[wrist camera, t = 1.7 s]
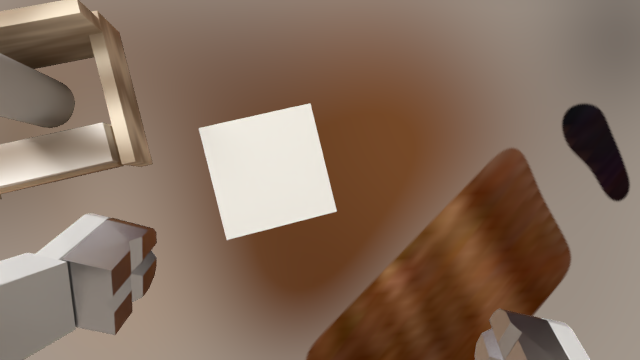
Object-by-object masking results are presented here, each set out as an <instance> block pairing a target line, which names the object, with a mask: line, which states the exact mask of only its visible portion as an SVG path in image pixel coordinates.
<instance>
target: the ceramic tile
mask: <svg viewBox="0 0 640 360" xmlns="http://www.w3.org/2000/svg"><path fill="white" fill-rule="evenodd" d="M199 132H200V135H201V139H202V143H203V147H204V151H205V155H206V159H207V163H208V167H209V171H210V175H211V179H212V183H213V187H214V191H215V195H216V199H217V203H218V207H219V211H220V215H221V219H222V223H223V227H224V231H225V235H226V239H227V240H229V239H233V238H236V237H241V236H244V235H248V234H252V233H256V232H260V231H264V230H268V229H271V228H275V227H279V226H283V225H287V224H291V223H295V222H298V221H302V220H306V219H310V218H314V217H318V216H321V215H325V214H329V213H333V212H337V210H336V206H335V202H334V198H333V194H332V190H331V186H330V182H329V177H328V174H327V169H326V165H325V161H324V157H323V153H322V149H321V145H320V141H319V137H318V133H317V128H316V124H315V120H314V116H313V112H312V108H311V104H305V105H301V106H296V107H292V108H287V109H284V110H278V111H274V112H269V113H265V114H260V115H256V116H252V117H247V118H243V119H238V120H234V121H230V122H225V123H221V124H216V125H211V126H207V127H202V128H199Z"/></svg>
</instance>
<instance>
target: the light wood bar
mask: <svg viewBox="0 0 640 360" xmlns="http://www.w3.org/2000/svg"><path fill="white" fill-rule="evenodd" d="M120 166H123V164H122V163H121V159H120V155H119V151H118V147H117V143H116V139H115V135H114V131H113V128H112V124H106V123H103V122H102V123H97V124H93V125H88V126H83V127H79V128H74V129H70V130H65V131H60V132H56V133H51V134H46V135H42V136H37V137H32V138H28V139H24V140H19V141H14V142H9V143H4V144H0V194H3V193H7V192H12V191H16V190H21V189H25V188H29V187H33V186H38V185H42V184H47V183H51V182H56V181H60V180H64V179H68V178H73V177H77V176H82V175H86V174H90V173H94V172H99V171H103V170H108V169H112V168H117V167H120Z"/></svg>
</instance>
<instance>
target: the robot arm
mask: <svg viewBox="0 0 640 360" xmlns="http://www.w3.org/2000/svg"><path fill="white" fill-rule="evenodd" d="M156 240H157V239H156V231H155V230H154V229H153V228H150V227H146V226H142V225H139V224H135V223H131V222H127V221H123V220H119V219H115V218H109V217H106V216H102V215H98V214H94V213H89V214H85V215H83V216H82V217H81V218H80V219H78V220H77V221H76V222H75V223H73V224H72V225H71V226H69V227H68V228H67V229H66V230H65V231H63V232H62V233H61V234H60V235H58V236H57V237H56V238H54V239H53V240H52V241H51V242H50V243H48V244H47V245H46V246H44V247H43V248H42V249H41V250H39V251H38V252H37V253H36V254H32V253H25V254H21V255H18V256H15V257H12V258H9V259H6V260H2V261H0V360H24V359H26V358H28V357H29V356H31V355H33V354H34V353H36V352H38V351H40V350H41V349H43V348H45V347H46V346H48V345H50V344H52V343H53V342H55V341H57V340H59V339H60V338H62V337H64V336H65V335H67V334H68V333H70V332H72V331H74V330H75V329H76V327H77V328H82V329H88V330H92V331H98V332H102V333H107V334H112V335H116V333H117V332H118V331H119V329H120V328H121V327H122V325H123V324H124V322H125V321H126V319H127V318H128V317H129V316H130V314H131V313H132V302H134V301H136V300H138V299H140V298H142V297H143V296H144V295H145V293H146V292H147V290H148V289H149V287H150V285H151V282H152V280H153V278H154V275H155V270H156V257H155V255H154V254H153V252H152V251H151V249H152V248H153V247H154V246H155V244H156V243H157V241H156ZM489 321H490V324H491V327H492V329H490V330H488V331H486V332H484V333H482V334H481V336H480V338H479V340H478V342H477V344H476V350H475V360H590V358H589V356H588V355H587V353H586V352H585V350H584V348H583V347H582V345H581V343H580V342H579V340H578V339H577V337H576V335H575V334H574V332H573V331H572V329H571V328H570V327H569V326H568V325H567V324H566V323H564V322H559V321H555V320H550V319H545V318H538V317H534V316H529V315H525V314H520V313H516V312H512V311H507V310H503V309H498V310H497V311H495V312H494V313H493V315H492V317H491V318H490V320H489Z"/></svg>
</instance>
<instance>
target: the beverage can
mask: <svg viewBox="0 0 640 360" xmlns="http://www.w3.org/2000/svg"><path fill="white" fill-rule="evenodd" d="M74 105H75V101H74V96H73V94H72V92H71V90H70V89H69V88H68V87H67V86H66V85H64V84H63V83H61V82H59V81H57V80H55V79H53V78H51V77H49V76H47V75H45V74H42V73H40V72H38V71H36V70H34V69H32V68H30V67H28V66H26V65H24V64H22V63H19V62H17V61H15V60H13V59H11V58H9V57H7V56H5V55H3V54H1V53H0V116H1V117H5V118H9V119H13V120H17V121H21V122H25V123H29V124H33V125H37V126H41V127H48V128H52V127H58V126H60V125H62V124H64V123H65V122H67V121H68V120H69V118H70V117H71V115H72V113H73V110H74Z"/></svg>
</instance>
